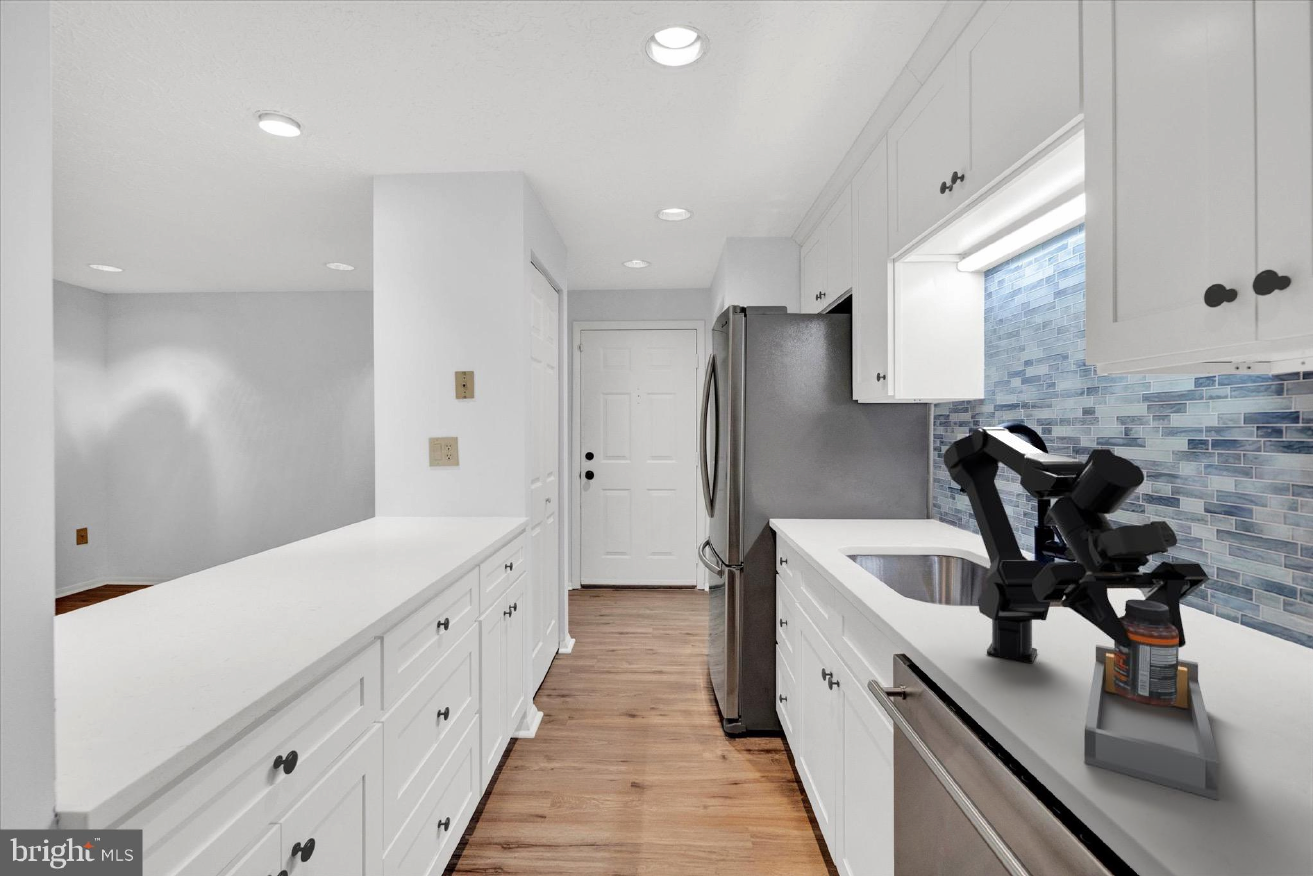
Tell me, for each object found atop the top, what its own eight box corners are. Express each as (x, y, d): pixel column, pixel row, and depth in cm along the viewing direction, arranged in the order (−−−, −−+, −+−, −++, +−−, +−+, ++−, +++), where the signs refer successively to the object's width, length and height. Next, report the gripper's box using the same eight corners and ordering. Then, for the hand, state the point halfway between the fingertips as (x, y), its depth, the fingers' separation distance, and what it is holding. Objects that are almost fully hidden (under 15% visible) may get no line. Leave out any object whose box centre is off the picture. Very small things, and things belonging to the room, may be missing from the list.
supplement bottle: (1103, 683, 75) (1105, 594, 75) (1159, 689, 74) (1161, 598, 73) (1128, 705, 69) (1130, 609, 69) (1189, 712, 68) (1191, 613, 67)
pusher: (1106, 681, 85) (1106, 647, 85) (1185, 697, 80) (1185, 661, 80) (1105, 691, 82) (1105, 655, 82) (1187, 708, 77) (1187, 670, 77)
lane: (1095, 684, 87) (1096, 644, 87) (1197, 705, 80) (1197, 662, 80) (1084, 762, 67) (1084, 711, 67) (1218, 800, 60) (1219, 743, 60)
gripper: (1046, 498, 75) (1111, 614, 64) (1197, 497, 75) (1287, 613, 64) (1009, 547, 83) (1061, 657, 72) (1145, 546, 83) (1218, 657, 72)
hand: (1154, 646), depth 70 cm, fingers closed on supplement bottle, 6 cm apart
